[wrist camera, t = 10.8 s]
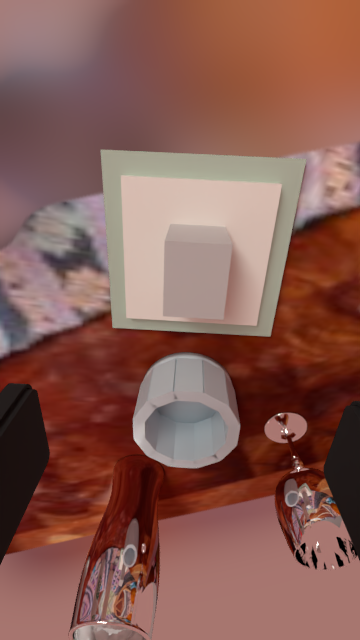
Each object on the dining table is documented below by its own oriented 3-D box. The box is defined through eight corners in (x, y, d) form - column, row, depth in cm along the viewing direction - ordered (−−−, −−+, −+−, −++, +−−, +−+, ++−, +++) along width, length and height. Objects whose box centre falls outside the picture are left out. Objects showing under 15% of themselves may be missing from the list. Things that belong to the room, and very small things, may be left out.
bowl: (227, 425, 34) (232, 470, 29) (143, 419, 34) (134, 464, 29) (237, 355, 30) (246, 395, 25) (141, 349, 30) (131, 388, 25)
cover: (254, 321, 27) (268, 360, 22) (128, 313, 28) (112, 350, 23) (279, 183, 22) (304, 193, 17) (123, 175, 22) (101, 182, 17)
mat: (269, 333, 29) (270, 336, 28) (114, 324, 29) (112, 327, 28) (304, 158, 22) (306, 159, 22) (102, 149, 22) (100, 149, 22)
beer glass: (127, 443, 36) (88, 613, 23) (179, 467, 38) (170, 639, 24) (100, 475, 39) (51, 643, 26) (149, 497, 40) (127, 665, 27)
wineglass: (251, 442, 35) (276, 568, 25) (266, 403, 32) (301, 526, 22) (302, 449, 35) (348, 578, 25) (321, 411, 33) (382, 537, 22)
